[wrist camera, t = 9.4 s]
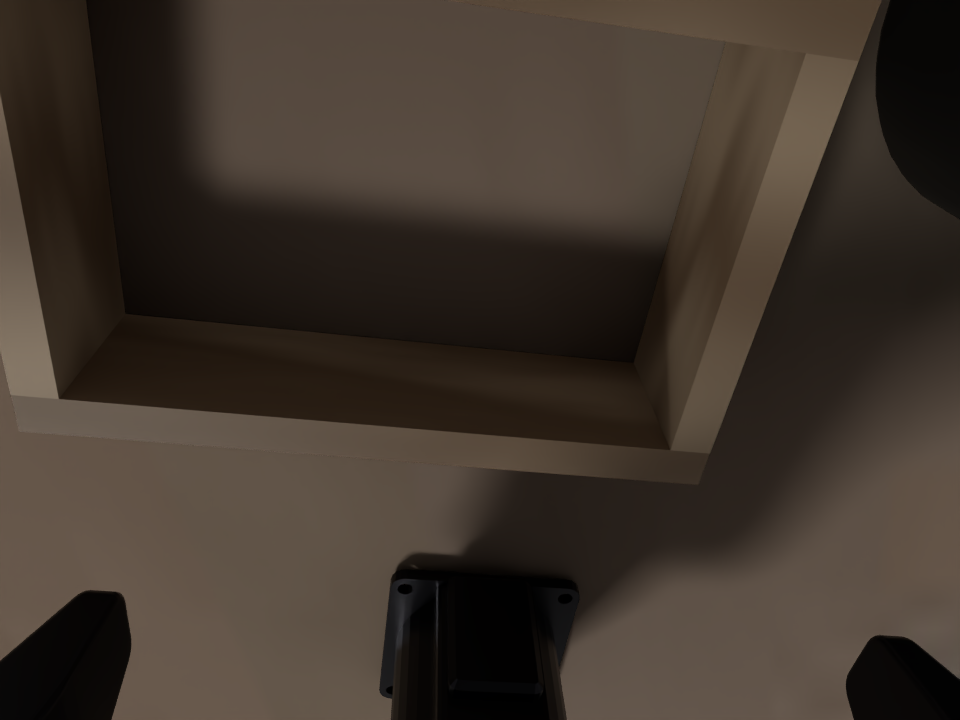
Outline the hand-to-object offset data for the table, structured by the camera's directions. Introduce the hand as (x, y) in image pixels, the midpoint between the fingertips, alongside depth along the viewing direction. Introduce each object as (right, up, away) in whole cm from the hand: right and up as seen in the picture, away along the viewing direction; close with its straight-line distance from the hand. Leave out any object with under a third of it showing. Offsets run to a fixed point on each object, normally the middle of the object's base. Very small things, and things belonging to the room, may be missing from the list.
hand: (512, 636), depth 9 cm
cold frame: (-2, +8, +9) cm, 12 cm away
